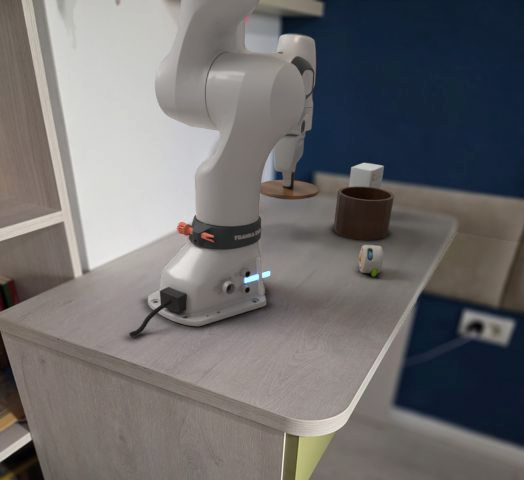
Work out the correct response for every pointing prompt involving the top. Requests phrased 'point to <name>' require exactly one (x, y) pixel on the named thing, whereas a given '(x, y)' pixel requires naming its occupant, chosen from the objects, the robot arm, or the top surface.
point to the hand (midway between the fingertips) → (288, 183)
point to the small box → (366, 175)
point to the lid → (289, 189)
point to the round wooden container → (363, 212)
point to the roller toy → (371, 259)
